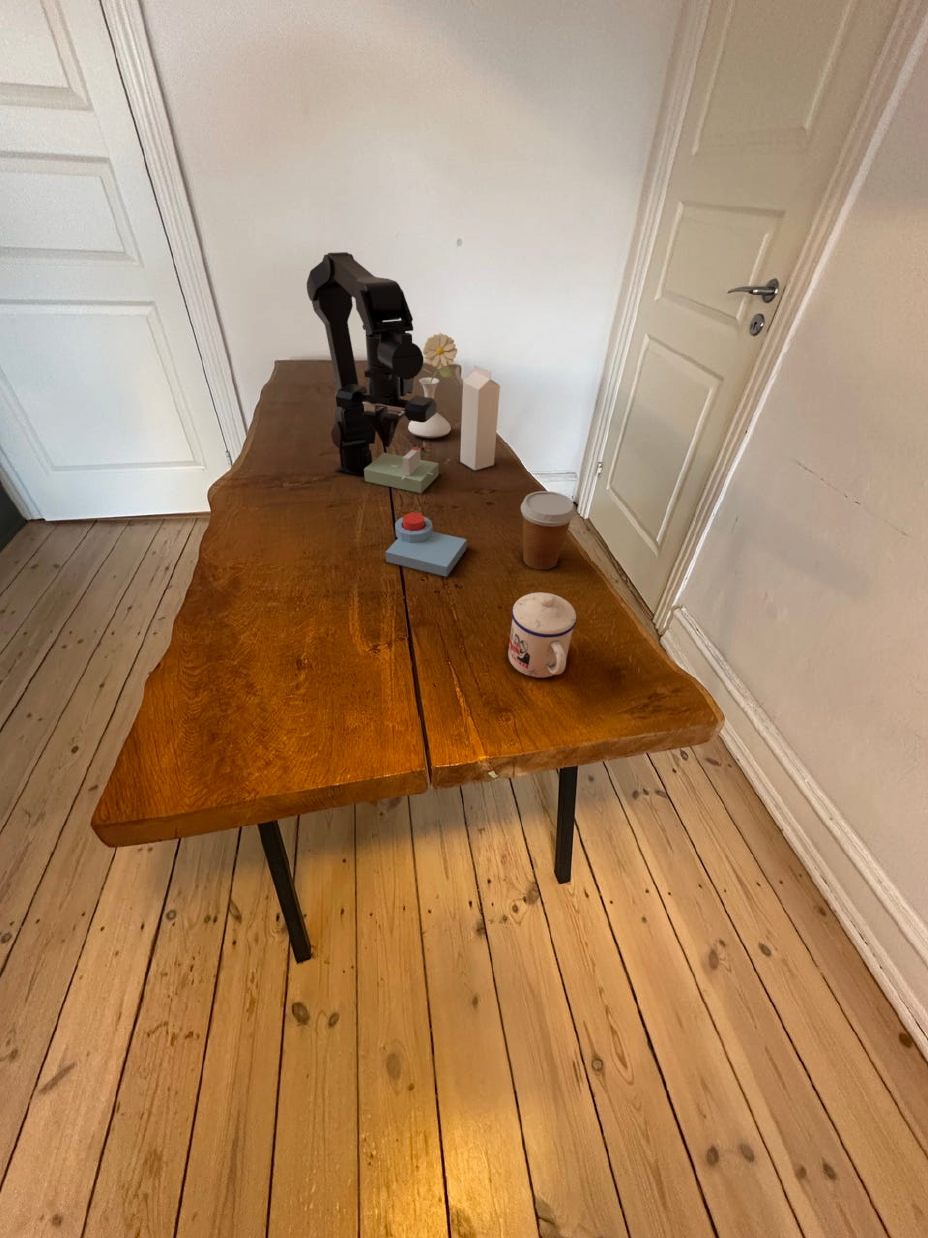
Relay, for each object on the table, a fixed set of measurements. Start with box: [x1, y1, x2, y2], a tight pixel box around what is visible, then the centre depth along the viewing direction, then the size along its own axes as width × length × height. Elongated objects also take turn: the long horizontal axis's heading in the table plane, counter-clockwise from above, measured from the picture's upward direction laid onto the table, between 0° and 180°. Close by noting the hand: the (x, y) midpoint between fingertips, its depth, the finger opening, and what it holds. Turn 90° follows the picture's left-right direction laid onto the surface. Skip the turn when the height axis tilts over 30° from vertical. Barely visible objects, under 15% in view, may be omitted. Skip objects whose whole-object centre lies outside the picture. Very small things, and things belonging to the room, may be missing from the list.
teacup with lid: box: [507, 592, 578, 678], centre depth 77 cm, size 12×9×12 cm
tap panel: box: [363, 452, 440, 494], centre depth 125 cm, size 15×11×3 cm
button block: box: [385, 516, 468, 577], centre depth 102 cm, size 13×12×4 cm
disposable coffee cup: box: [520, 490, 576, 571], centre depth 99 cm, size 10×10×12 cm
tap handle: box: [403, 446, 421, 476], centre depth 121 cm, size 6×2×4 cm, turn 159°
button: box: [402, 512, 425, 531], centre depth 103 cm, size 4×4×2 cm
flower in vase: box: [407, 332, 458, 439], centre depth 139 cm, size 13×11×25 cm
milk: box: [459, 364, 501, 471], centre depth 127 cm, size 6×6×22 cm
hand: (387, 446), depth 108 cm, fingers closed
